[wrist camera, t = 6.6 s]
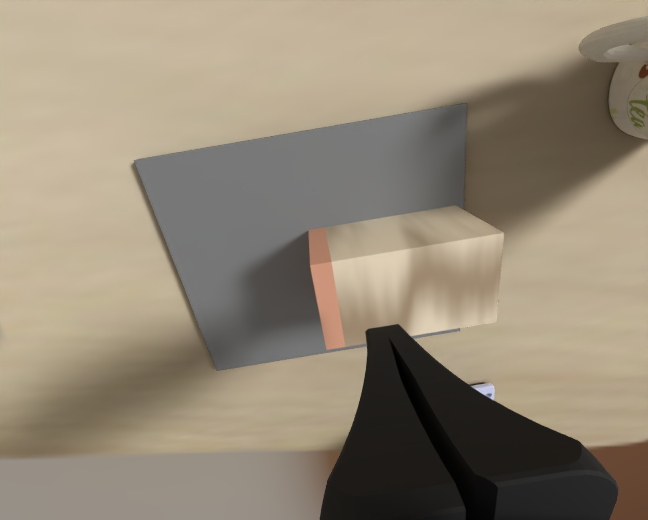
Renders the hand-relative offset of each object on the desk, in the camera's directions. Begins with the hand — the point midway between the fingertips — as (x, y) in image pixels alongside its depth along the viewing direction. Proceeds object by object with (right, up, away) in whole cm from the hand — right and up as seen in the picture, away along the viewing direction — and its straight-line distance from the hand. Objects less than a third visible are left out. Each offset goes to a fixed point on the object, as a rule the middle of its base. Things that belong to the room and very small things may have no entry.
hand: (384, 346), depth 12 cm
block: (-3, +2, +5) cm, 6 cm away
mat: (-3, +4, +8) cm, 9 cm away
